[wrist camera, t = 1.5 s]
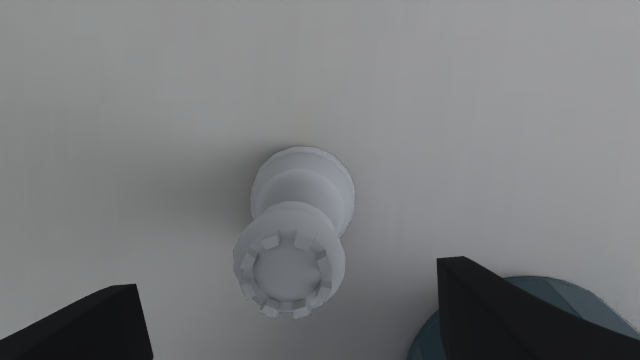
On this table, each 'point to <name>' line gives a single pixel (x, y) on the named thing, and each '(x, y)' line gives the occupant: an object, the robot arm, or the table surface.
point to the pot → (428, 347)
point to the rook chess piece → (295, 232)
